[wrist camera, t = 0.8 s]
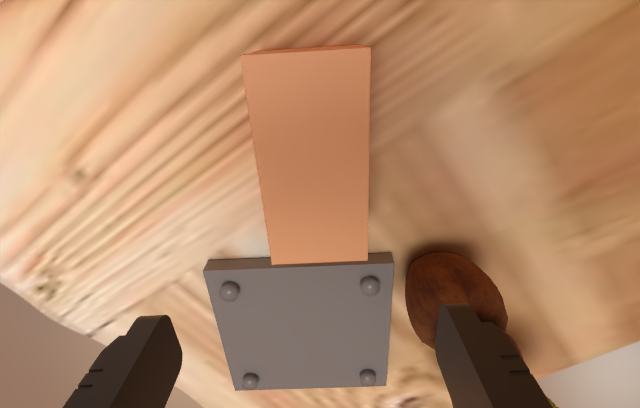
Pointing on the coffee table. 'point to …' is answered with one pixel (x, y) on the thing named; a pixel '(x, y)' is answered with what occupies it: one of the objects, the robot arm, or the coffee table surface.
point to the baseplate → (303, 321)
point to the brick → (312, 149)
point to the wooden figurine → (450, 293)
